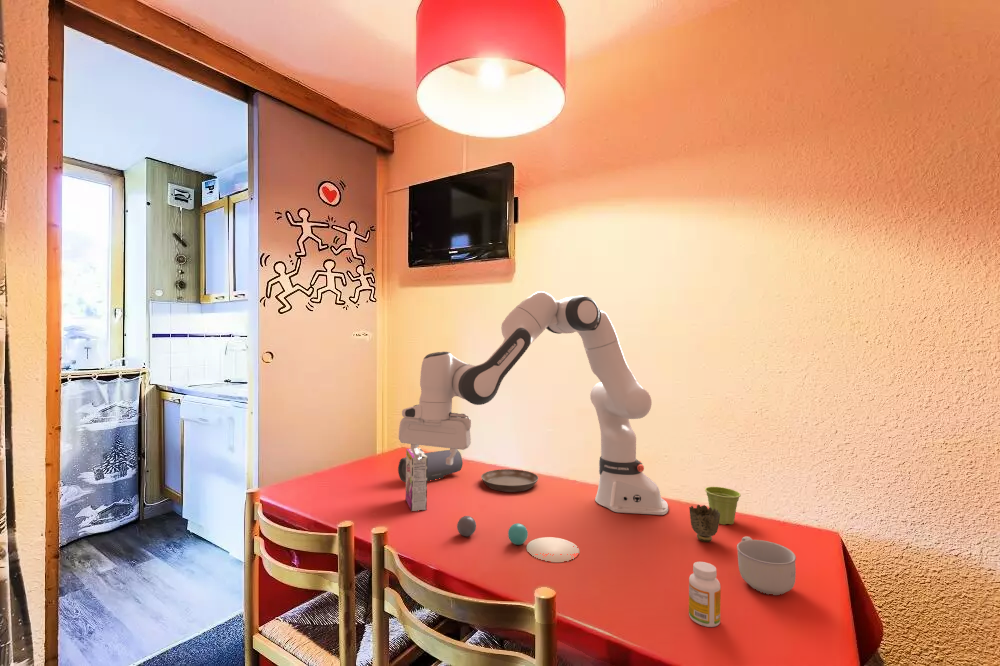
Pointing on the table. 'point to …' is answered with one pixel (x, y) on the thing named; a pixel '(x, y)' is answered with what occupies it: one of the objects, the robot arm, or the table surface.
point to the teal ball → (517, 534)
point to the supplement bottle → (704, 595)
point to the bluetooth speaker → (435, 465)
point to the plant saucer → (509, 480)
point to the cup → (704, 522)
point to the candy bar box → (416, 481)
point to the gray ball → (466, 526)
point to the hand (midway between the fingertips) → (433, 462)
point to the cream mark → (552, 549)
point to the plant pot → (723, 503)
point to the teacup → (766, 566)
